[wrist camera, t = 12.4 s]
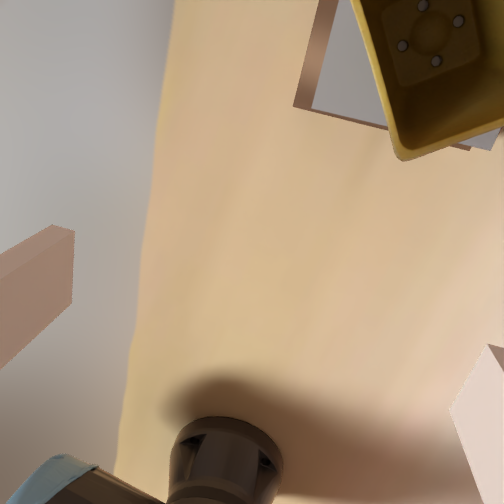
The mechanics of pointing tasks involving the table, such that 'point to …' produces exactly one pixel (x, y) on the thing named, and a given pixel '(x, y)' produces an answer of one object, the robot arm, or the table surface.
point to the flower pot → (435, 69)
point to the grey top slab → (362, 75)
